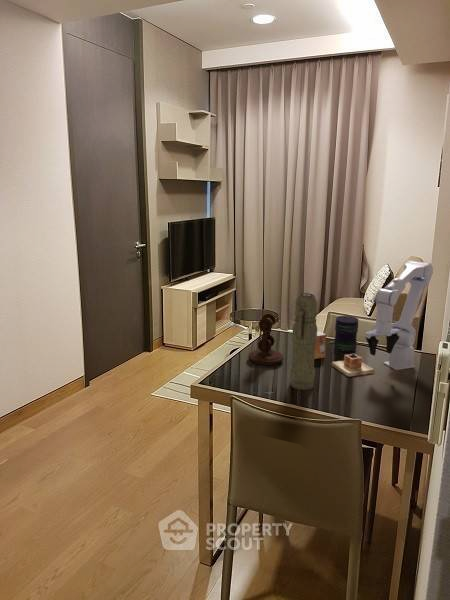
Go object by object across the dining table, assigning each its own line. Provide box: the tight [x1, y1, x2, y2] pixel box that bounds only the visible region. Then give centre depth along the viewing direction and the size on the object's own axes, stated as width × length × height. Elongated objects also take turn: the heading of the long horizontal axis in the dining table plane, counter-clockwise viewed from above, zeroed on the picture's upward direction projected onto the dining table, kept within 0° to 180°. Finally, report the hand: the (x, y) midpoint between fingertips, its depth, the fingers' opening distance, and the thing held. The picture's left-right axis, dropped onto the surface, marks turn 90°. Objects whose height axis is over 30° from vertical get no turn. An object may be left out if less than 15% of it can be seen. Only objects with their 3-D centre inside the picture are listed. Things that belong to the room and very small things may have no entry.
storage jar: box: [333, 315, 359, 355], centre depth 209 cm, size 10×10×15 cm
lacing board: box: [331, 353, 375, 378], centre depth 190 cm, size 12×12×6 cm
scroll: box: [248, 313, 284, 368], centre depth 196 cm, size 15×15×20 cm
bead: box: [343, 353, 363, 369], centre depth 190 cm, size 5×5×4 cm
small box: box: [314, 330, 327, 360], centre depth 202 cm, size 8×6×10 cm
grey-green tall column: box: [289, 292, 318, 391], centre depth 171 cm, size 9×12×35 cm
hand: (380, 353), depth 182 cm, fingers open, 7 cm apart
